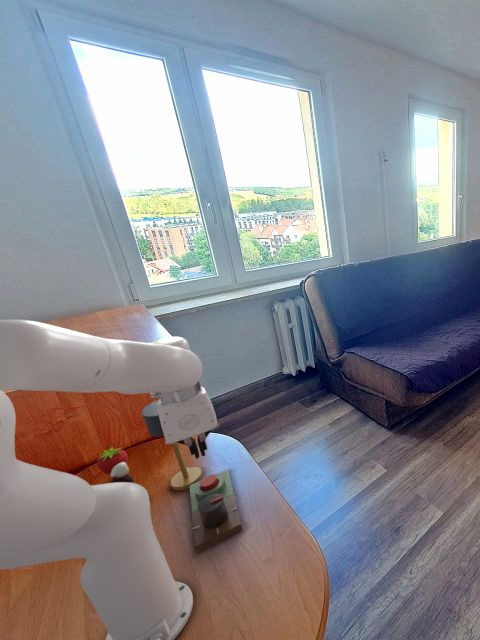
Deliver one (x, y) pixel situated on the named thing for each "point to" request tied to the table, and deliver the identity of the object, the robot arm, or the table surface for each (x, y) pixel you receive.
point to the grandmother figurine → (121, 473)
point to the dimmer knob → (213, 511)
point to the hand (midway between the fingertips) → (200, 453)
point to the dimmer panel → (219, 533)
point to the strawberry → (111, 459)
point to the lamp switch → (209, 483)
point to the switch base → (222, 488)
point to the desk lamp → (155, 429)
